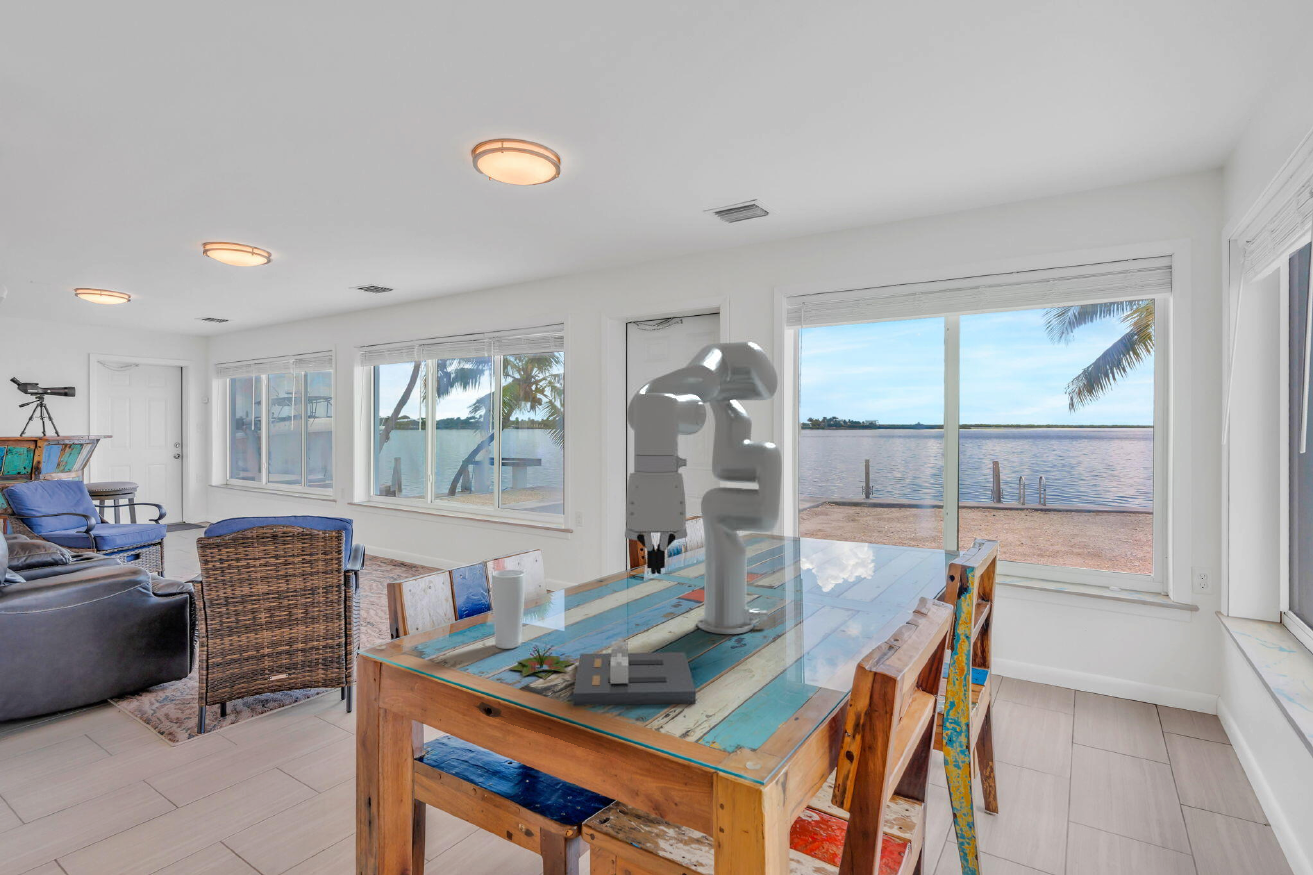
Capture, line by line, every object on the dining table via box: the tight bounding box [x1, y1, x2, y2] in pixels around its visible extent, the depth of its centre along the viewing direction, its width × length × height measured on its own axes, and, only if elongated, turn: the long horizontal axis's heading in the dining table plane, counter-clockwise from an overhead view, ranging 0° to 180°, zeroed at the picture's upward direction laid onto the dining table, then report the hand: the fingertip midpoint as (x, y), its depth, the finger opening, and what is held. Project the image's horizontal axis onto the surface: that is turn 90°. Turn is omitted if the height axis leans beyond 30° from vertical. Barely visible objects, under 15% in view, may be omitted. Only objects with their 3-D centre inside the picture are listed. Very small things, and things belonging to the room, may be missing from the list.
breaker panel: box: [572, 651, 697, 707], centre depth 113 cm, size 20×18×2 cm
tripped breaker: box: [610, 653, 628, 683], centre depth 109 cm, size 3×4×4 cm
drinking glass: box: [491, 569, 526, 650], centre depth 131 cm, size 7×7×15 cm
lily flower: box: [510, 644, 576, 680], centre depth 120 cm, size 12×12×5 cm
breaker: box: [610, 637, 629, 657], centre depth 117 cm, size 3×4×4 cm
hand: (655, 572), depth 109 cm, fingers closed
